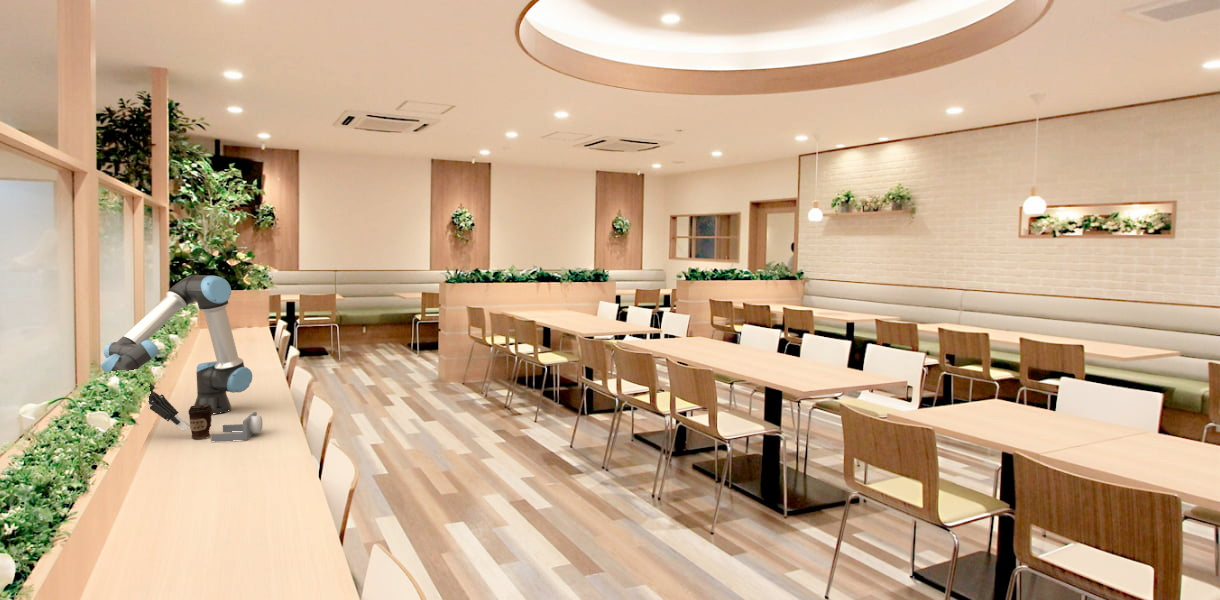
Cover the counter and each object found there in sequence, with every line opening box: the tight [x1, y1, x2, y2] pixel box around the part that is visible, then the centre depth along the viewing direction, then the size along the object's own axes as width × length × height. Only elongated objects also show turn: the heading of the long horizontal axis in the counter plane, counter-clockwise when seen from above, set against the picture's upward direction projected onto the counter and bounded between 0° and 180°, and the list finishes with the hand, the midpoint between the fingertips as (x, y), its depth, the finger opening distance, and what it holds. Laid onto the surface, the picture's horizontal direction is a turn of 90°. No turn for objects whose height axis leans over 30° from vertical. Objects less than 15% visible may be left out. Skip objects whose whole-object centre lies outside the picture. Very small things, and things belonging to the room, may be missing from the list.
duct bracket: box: [210, 411, 264, 442], centre depth 289 cm, size 15×16×8 cm
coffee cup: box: [188, 404, 213, 440], centre depth 286 cm, size 9×8×13 cm
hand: (186, 428), depth 283 cm, fingers closed
